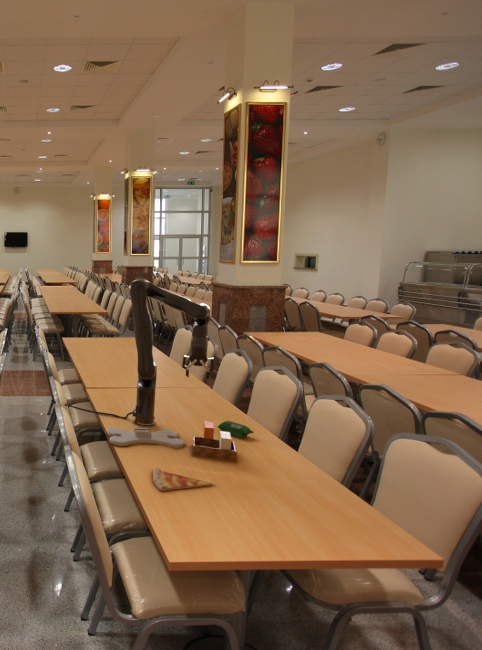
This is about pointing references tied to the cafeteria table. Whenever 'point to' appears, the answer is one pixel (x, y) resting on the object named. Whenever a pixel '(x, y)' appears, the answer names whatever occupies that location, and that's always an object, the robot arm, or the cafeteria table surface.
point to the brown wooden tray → (212, 449)
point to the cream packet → (225, 440)
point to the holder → (144, 437)
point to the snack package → (235, 429)
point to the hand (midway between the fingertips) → (197, 377)
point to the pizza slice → (175, 481)
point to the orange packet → (208, 429)
